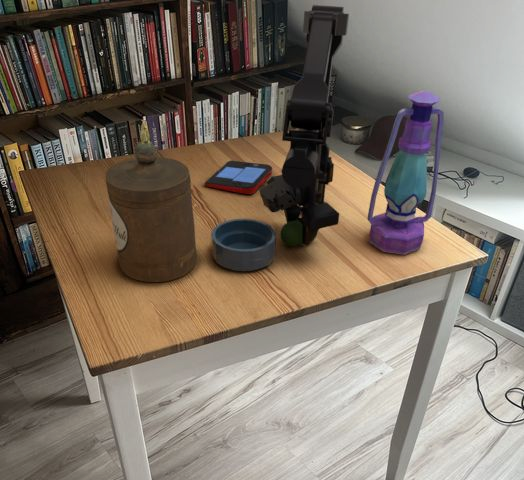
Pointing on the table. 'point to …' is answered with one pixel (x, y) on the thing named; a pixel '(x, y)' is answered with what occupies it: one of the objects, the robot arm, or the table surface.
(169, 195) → the wooden container
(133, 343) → the table surface
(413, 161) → the lantern
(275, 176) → the robot arm
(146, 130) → the vegetable
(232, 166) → the game console
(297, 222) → the green rounded cylinder
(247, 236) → the bowl
